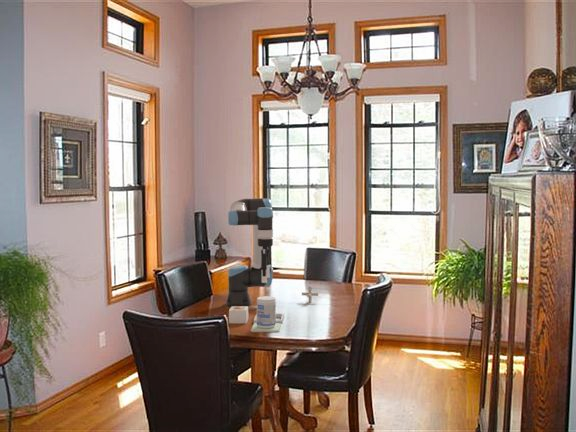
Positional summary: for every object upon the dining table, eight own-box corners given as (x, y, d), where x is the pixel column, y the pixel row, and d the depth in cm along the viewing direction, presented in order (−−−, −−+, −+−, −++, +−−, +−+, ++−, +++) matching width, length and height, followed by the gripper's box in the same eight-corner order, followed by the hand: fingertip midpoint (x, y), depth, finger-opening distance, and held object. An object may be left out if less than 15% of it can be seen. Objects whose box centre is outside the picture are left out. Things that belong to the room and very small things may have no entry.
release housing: (231, 319, 309) (231, 306, 309) (248, 319, 309) (248, 306, 308) (229, 323, 300) (228, 310, 300) (246, 323, 300) (246, 310, 299)
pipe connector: (316, 304, 343) (316, 287, 342) (300, 303, 345) (300, 287, 344) (319, 300, 353) (319, 284, 352) (303, 300, 355) (303, 284, 354)
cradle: (256, 317, 313) (256, 313, 313) (284, 317, 312) (284, 313, 312) (253, 323, 298) (253, 320, 298) (282, 324, 298) (282, 320, 297)
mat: (254, 324, 297) (254, 323, 297) (281, 324, 296) (281, 323, 296) (250, 331, 283) (250, 330, 283) (279, 332, 282) (279, 330, 282)
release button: (235, 315, 307) (235, 306, 306) (243, 315, 306) (243, 306, 306) (233, 317, 302) (233, 308, 302) (242, 317, 302) (242, 308, 301)
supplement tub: (256, 329, 285) (255, 299, 284) (257, 324, 294) (257, 296, 293) (275, 329, 285) (275, 299, 284) (276, 324, 294) (275, 295, 293)
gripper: (260, 235, 299) (260, 275, 301) (254, 241, 274) (255, 284, 276) (274, 235, 299) (275, 275, 300) (270, 240, 274) (271, 284, 275)
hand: (265, 280), depth 288 cm, fingers open, 13 cm apart
